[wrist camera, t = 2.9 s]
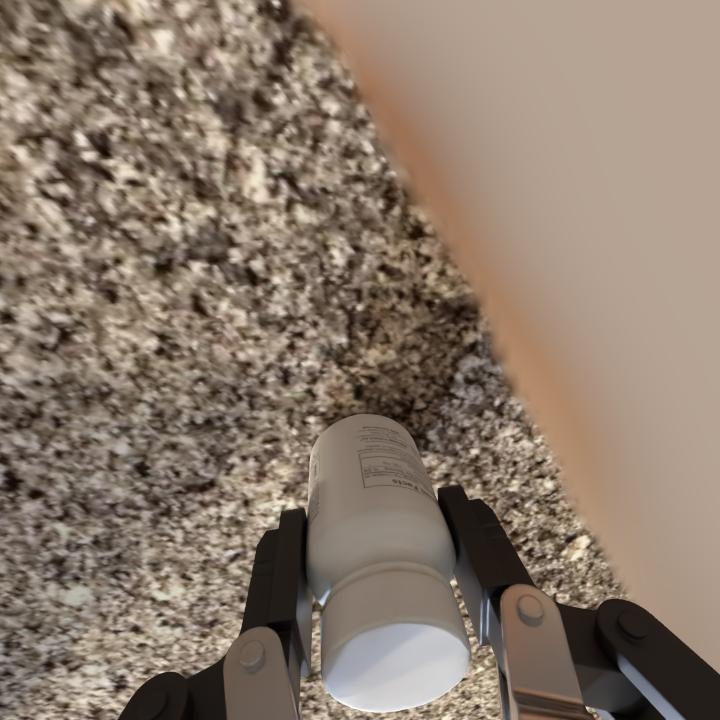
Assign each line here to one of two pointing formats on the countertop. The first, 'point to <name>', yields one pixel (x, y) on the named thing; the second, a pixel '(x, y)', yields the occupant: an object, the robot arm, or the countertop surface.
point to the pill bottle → (381, 570)
